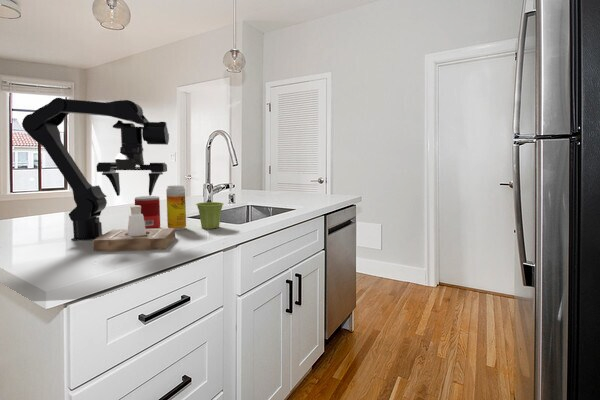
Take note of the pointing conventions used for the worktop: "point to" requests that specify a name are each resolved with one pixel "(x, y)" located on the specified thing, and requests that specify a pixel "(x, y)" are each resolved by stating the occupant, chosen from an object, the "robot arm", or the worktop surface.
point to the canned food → (150, 210)
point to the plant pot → (210, 214)
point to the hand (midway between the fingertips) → (134, 195)
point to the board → (134, 240)
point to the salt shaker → (136, 222)
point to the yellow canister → (176, 207)
